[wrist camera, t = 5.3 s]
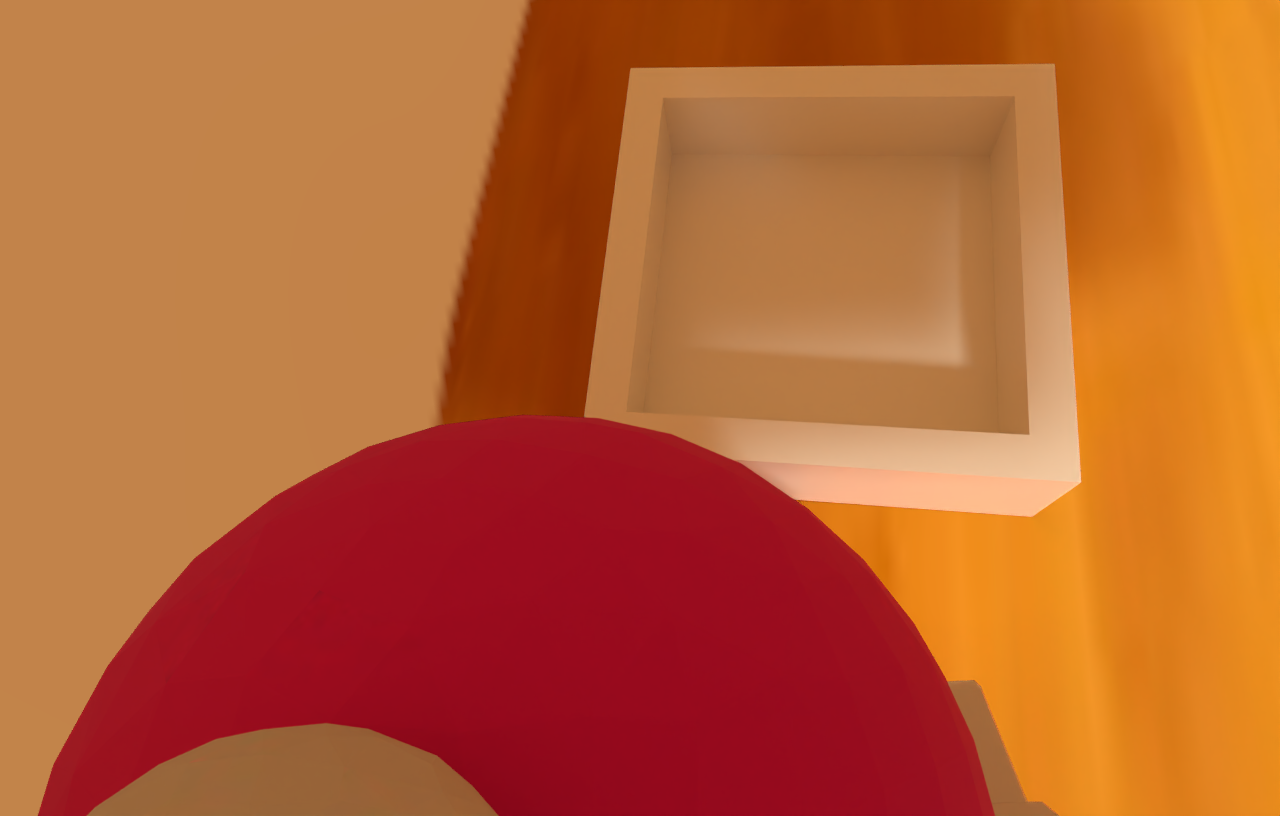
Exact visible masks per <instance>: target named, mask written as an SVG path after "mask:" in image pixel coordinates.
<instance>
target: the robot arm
mask: <svg viewBox="0 0 1280 816" xmlns="http://www.w3.org/2000/svg"><path fill="white" fill-rule="evenodd" d="M947 683H948V685H949V687H950V689H951V691H952V693H953V695H954V698H955V700H956V702H957V704H958V706H959V708H960V710H961V713H962V715H963V717H964V719H965V721H966V723H967V726H968V728H969V730H970V732H971V734H972V736H973V738H974V741H975V745H976V748H977V752H978V756H979V759H980V763H981V766H982V770H983V774H984V777H985V781H986V784H987V788H988V792H989V795H990V799H991V802H992V806H993V810H994V813H995V816H1059V815H1058V814H1057V813H1055V812H1054V811H1053V810H1052V809H1051V808H1049V807H1048V806H1047V805H1046V804H1044V803H1043V802H1027V799H1026V797H1025V794H1024V792H1023V790H1022V787H1021V785H1020V782H1019V780H1018V777H1017V775H1016V772H1015V770H1014V767H1013V765H1012V762H1011V760H1010V757H1009V755H1008V752H1007V750H1006V748H1005V745H1004V743H1003V740H1002V738H1001V735H1000V733H999V730H998V728H997V725H996V723H995V720H994V718H993V715H992V713H991V710H990V708H989V706H988V703H987V701H986V698H985V696H984V693H983V691H982V688H981V686H980V685H979V684H978V683H977V682H976V681H975V680H970V681H949V682H947Z"/></svg>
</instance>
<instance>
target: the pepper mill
mask: <svg viewBox="0 0 1280 816" xmlns="http://www.w3.org/2000/svg"><path fill="white" fill-rule="evenodd" d="M38 816H995V813H994V810H993V806H992V802H991V799H990V795H989V792H988V788H987V784H986V781H985V777H984V774H983V770H982V766H981V763H980V759H979V756H978V752H977V748H976V745H975V741H974V738H973V736H972V734H971V732H970V730H969V728H968V726H967V723H966V721H965V719H964V717H963V715H962V713H961V710H960V708H959V706H958V704H957V702H956V700H955V698H954V695H953V693H952V691H951V689H950V687H949V685H948V683H947V680H946V678H945V676H944V675H943V673H942V671H941V669H940V668H939V666H938V664H937V662H936V661H935V659H934V657H933V656H932V654H931V652H930V650H929V649H928V647H927V645H926V643H925V642H924V640H923V638H922V636H921V635H920V633H919V631H918V629H917V628H916V626H915V624H914V623H913V621H912V620H911V619H910V618H909V616H908V615H907V614H906V613H905V611H904V610H903V609H902V608H901V606H900V605H899V604H898V602H897V601H896V600H895V599H894V597H893V596H892V595H891V594H890V592H889V591H888V590H887V589H886V587H885V586H884V585H883V583H882V582H881V581H880V580H879V578H878V577H877V576H876V575H875V573H874V572H873V571H872V570H871V568H870V567H869V566H868V565H867V563H866V562H865V561H864V560H863V559H862V558H861V557H860V556H859V555H858V554H857V553H856V552H855V551H854V550H852V549H851V548H850V547H849V546H848V545H847V544H846V543H845V542H844V541H843V540H841V539H840V538H839V537H838V536H837V535H836V534H835V533H834V532H833V531H832V530H831V529H829V528H828V527H827V526H826V525H825V524H824V523H823V522H822V521H821V520H820V519H818V518H817V517H816V516H815V515H814V514H813V513H812V512H811V511H810V510H809V509H807V508H806V507H805V506H803V505H802V504H800V503H799V502H797V501H796V500H794V499H793V498H791V497H790V496H789V495H787V494H786V493H784V492H783V491H781V490H780V489H778V488H777V487H775V486H774V485H772V484H771V483H769V482H768V481H767V480H765V479H764V478H762V477H761V476H759V475H758V474H756V473H755V472H753V471H752V470H750V469H749V468H748V467H746V466H745V465H743V464H741V463H739V462H737V461H734V460H732V459H729V458H727V457H725V456H722V455H720V454H718V453H715V452H713V451H711V450H708V449H706V448H703V447H701V446H699V445H696V444H694V443H692V442H689V441H687V440H684V439H682V438H680V437H677V436H675V435H673V434H669V433H665V432H660V431H656V430H651V429H647V428H642V427H637V426H633V425H628V424H624V423H619V422H615V421H610V420H606V419H601V418H587V417H564V416H540V415H517V416H509V417H501V418H493V419H485V420H477V421H469V422H461V423H453V424H445V425H438V426H435V427H432V428H429V429H425V430H422V431H419V432H415V433H412V434H409V435H406V436H402V437H399V438H396V439H393V440H389V441H386V442H382V443H379V444H376V445H373V446H369V447H367V448H365V449H363V450H361V451H359V452H357V453H355V454H353V455H352V456H349V457H347V458H345V459H343V460H341V461H340V462H338V463H335V464H334V465H331V466H329V467H328V468H326V469H324V470H322V471H320V472H318V473H316V474H314V475H312V476H310V477H309V478H307V479H305V480H303V481H301V482H300V483H298V484H296V485H294V486H292V487H291V488H289V489H287V490H285V491H283V492H282V493H280V494H278V495H276V496H275V497H274V498H272V499H271V500H270V501H268V502H267V503H266V504H264V505H263V506H262V507H260V508H259V509H258V510H257V511H255V512H254V513H253V514H251V515H250V516H249V517H247V518H246V519H245V520H244V521H242V522H241V523H240V524H238V525H237V526H236V527H235V528H233V529H232V530H231V531H229V532H228V533H227V534H225V535H224V536H223V537H222V538H220V539H219V540H218V541H216V542H215V543H214V544H212V545H211V546H210V547H209V548H207V549H206V550H205V551H203V552H202V553H201V554H199V555H198V556H197V557H196V558H195V559H194V560H193V561H192V562H191V563H190V564H189V565H188V566H187V568H186V569H185V570H184V571H183V572H182V573H181V575H180V576H179V577H178V578H177V579H176V580H175V582H174V583H173V584H172V585H171V586H170V587H169V589H168V590H167V591H166V592H165V593H164V594H163V595H162V597H161V598H160V599H159V600H158V601H157V602H156V603H155V605H154V606H153V607H152V608H151V609H150V611H149V612H148V613H147V614H146V616H145V617H144V618H143V620H142V621H141V622H140V624H139V625H138V626H137V628H136V629H135V630H134V632H133V633H132V634H131V636H130V637H129V638H128V640H127V641H126V643H125V644H124V645H123V646H122V648H121V649H120V650H119V652H118V653H117V654H116V656H115V657H114V658H113V660H112V661H111V662H110V664H109V665H108V667H107V668H106V670H105V672H104V674H103V675H102V677H101V679H100V681H99V683H98V685H97V687H96V688H95V690H94V692H93V694H92V695H91V697H90V699H89V701H88V703H87V705H86V706H85V708H84V710H83V712H82V714H81V715H80V717H79V719H78V721H77V723H76V724H75V726H74V728H73V730H72V732H71V734H70V735H69V737H68V739H67V741H66V743H65V744H64V746H63V748H62V750H61V752H60V754H59V755H58V757H57V759H56V761H55V763H54V765H53V768H52V771H51V774H50V778H49V781H48V784H47V787H46V791H45V794H44V797H43V801H42V804H41V807H40V811H39V814H38Z"/></svg>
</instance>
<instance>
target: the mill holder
mask: <svg viewBox="0 0 1280 816" xmlns="http://www.w3.org/2000/svg"><path fill="white" fill-rule="evenodd" d="M584 417H587V418H601V419H606V420H610V421H615V422H619V423H624V424H628V425H633V426H637V427H642V428H647V429H651V430H656V431H660V432H665V433H669V434H673V435H675V436H677V437H680V438H682V439H684V440H687V441H689V442H692V443H694V444H696V445H699V446H701V447H703V448H706V449H708V450H711V451H713V452H715V453H718V454H720V455H722V456H725V457H727V458H729V459H732V460H734V461H737V462H739V463H741V464H743V465H745V466H746V467H748V468H749V469H750V470H752V471H753V472H755V473H756V474H758V475H759V476H761V477H762V478H764V479H765V480H767V481H768V482H769V483H771V484H772V485H774V486H775V487H777V488H778V489H780V490H781V491H783V492H784V493H786V494H787V495H789V496H790V497H791V498H793V499H794V500H808V501H822V502H836V503H850V504H864V505H878V506H891V507H905V508H919V509H933V510H947V511H961V512H975V513H989V514H1002V515H1016V516H1030V517H1032V516H1034V515H1035V514H1036V513H1038V512H1039V511H1041V510H1042V509H1044V508H1045V507H1046V506H1048V505H1049V504H1051V503H1052V502H1054V501H1055V500H1057V499H1058V498H1059V497H1061V496H1062V495H1064V494H1065V493H1067V492H1068V491H1070V490H1071V489H1072V488H1074V487H1075V486H1077V485H1078V484H1080V483H1081V472H1080V457H1079V441H1078V425H1077V409H1076V393H1075V377H1074V361H1073V345H1072V329H1071V313H1070V297H1069V281H1068V265H1067V250H1066V234H1065V218H1064V202H1063V186H1062V170H1061V154H1060V138H1059V122H1058V106H1057V90H1056V74H1055V64H975V65H877V66H779V67H681V68H631V69H630V76H629V84H628V91H627V99H626V106H625V114H624V121H623V129H622V136H621V143H620V151H619V158H618V166H617V173H616V181H615V188H614V196H613V203H612V211H611V218H610V226H609V233H608V241H607V248H606V256H605V263H604V271H603V278H602V286H601V293H600V301H599V308H598V316H597V323H596V331H595V338H594V346H593V353H592V361H591V368H590V376H589V383H588V391H587V398H586V405H585V413H584Z"/></svg>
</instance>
